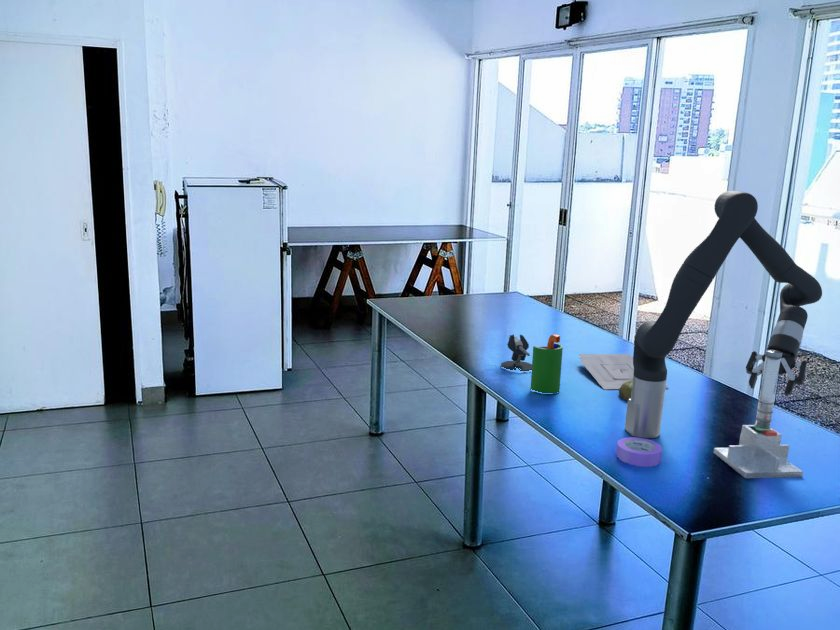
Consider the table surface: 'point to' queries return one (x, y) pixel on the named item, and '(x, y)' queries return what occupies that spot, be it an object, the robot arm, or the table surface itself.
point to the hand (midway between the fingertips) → (768, 390)
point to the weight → (626, 390)
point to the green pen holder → (547, 366)
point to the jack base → (759, 455)
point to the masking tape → (639, 451)
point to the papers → (609, 368)
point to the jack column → (767, 390)
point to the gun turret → (518, 354)
